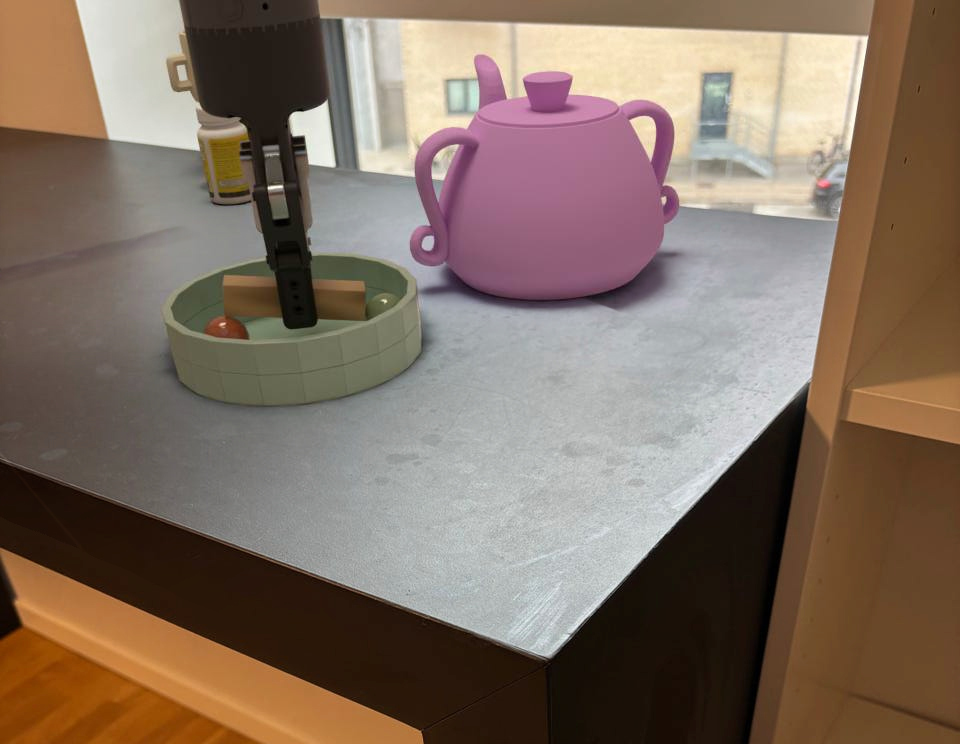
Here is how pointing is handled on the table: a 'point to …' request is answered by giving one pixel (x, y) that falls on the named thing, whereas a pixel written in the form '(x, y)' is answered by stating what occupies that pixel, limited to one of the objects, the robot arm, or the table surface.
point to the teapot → (546, 191)
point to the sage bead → (380, 304)
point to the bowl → (294, 338)
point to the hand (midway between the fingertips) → (301, 318)
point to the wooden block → (263, 301)
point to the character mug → (190, 83)
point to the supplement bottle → (222, 157)
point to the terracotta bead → (227, 328)
